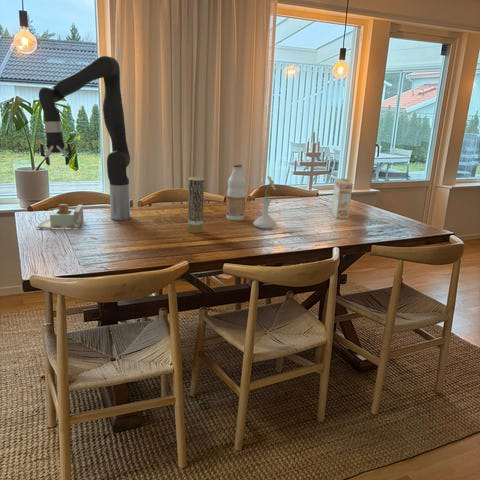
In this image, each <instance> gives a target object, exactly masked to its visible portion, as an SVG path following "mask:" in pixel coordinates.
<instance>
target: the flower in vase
mask: <svg viewBox="0 0 480 480" xmlns="http://www.w3.org/2000/svg"><path fill="white" fill-rule="evenodd" d="M267 179H268V182H269V184H268V186H267V188H266V189H265V191H264V192H265V195H264V197H265V198H262V199H261V201H262V205H263V213H262V215H260V216H258V218H256V219H255V220H254V221H253V225H254V226H255V227H257V228H260V229H274V228H276V226H277V222H276V221H275V220H274V219H273V218H272V217H271V216H270V215H269V208H270V207H269V206H270V204H271V202H272V199H270V198H268V196H270V195H271V194H270V193H267V191H268V189H269V186H271V188H272V189H273V190H274V191H277V188H276V185H275V184H274V180H272V177H271V176H270V175H267Z"/></svg>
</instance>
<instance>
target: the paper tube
mask: <svg viewBox="0 0 480 480" xmlns="http://www.w3.org/2000/svg"><path fill="white" fill-rule="evenodd" d="M204 186H205V177H202V176H189V177H188V204H187V205H188V206H187V207H188V209H187V212H188V213H187V214H188V215H187V218H188V219H187V231H188V232H189V233H190V234H191V233H192V234H199V233H200V232H201V233H203V231H204V199H205V198H204V194H205V187H204Z"/></svg>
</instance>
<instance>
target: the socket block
mask: <svg viewBox="0 0 480 480" xmlns="http://www.w3.org/2000/svg"><path fill="white" fill-rule="evenodd" d="M75 209H76V208H75ZM75 209H69V208H68V211H69V214H59V208H58V209H52V212H51V213H50V214H49V219H50V223H51V226H75V222H74V211H75Z"/></svg>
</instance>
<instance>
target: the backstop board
mask: <svg viewBox="0 0 480 480" xmlns="http://www.w3.org/2000/svg"><path fill="white" fill-rule="evenodd" d="M83 205H84V204H77V206H76V208H75V211H74V222H75V226H51V223H50V218H43V219H42V220H41V222H40V223H39V224H38V225H37V226H36V229H37V228H78V229H77V230H80V229H81V227H82V226H83V223H84V206H83Z"/></svg>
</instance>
